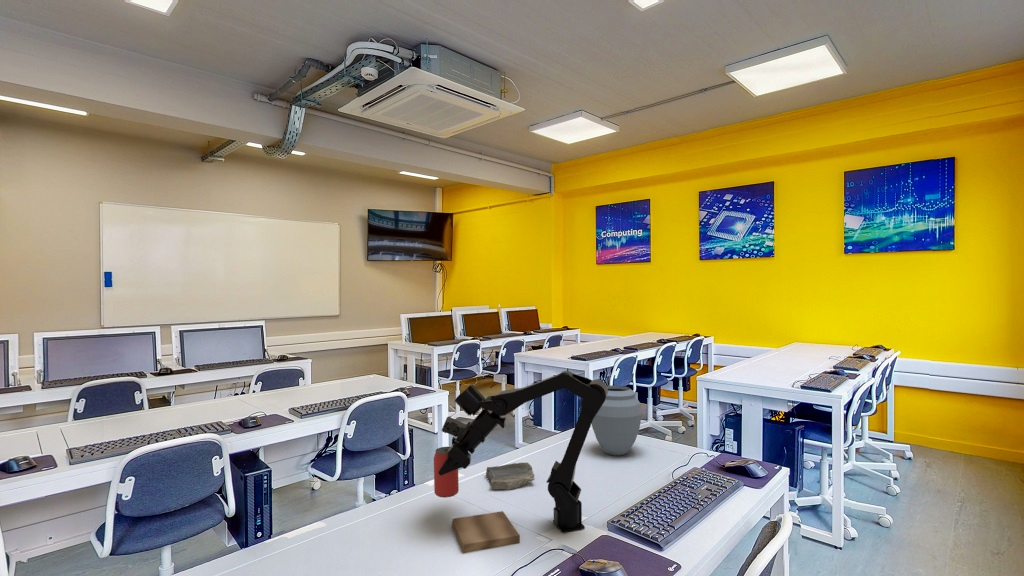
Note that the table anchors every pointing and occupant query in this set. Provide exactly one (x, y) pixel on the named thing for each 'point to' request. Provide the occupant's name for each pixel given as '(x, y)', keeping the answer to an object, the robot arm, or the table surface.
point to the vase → (618, 420)
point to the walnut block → (484, 531)
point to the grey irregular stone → (510, 475)
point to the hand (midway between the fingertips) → (441, 469)
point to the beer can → (444, 476)
